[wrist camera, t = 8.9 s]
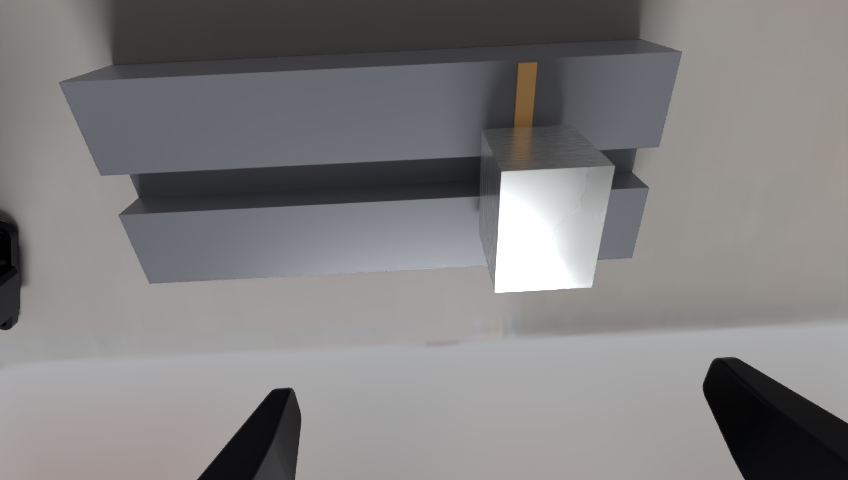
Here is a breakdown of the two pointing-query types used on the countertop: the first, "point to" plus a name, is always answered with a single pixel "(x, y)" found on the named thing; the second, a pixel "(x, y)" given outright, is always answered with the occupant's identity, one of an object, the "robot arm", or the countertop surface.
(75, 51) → the countertop surface
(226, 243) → the fader console
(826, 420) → the robot arm
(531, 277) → the fader tab
